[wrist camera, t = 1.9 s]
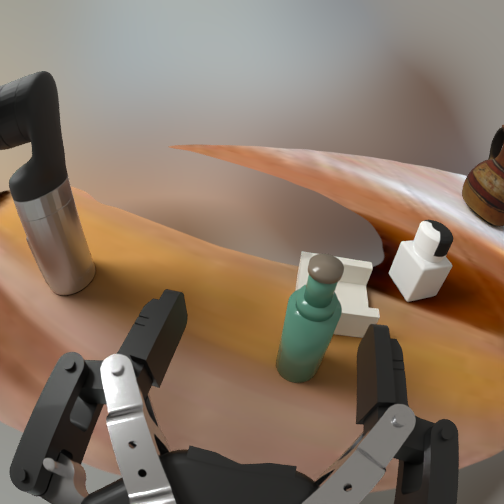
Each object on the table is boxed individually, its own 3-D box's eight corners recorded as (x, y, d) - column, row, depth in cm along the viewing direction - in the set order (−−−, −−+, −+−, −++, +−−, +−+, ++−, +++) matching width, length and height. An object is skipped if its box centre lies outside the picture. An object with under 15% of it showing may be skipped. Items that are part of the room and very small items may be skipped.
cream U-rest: (290, 327, 38) (295, 305, 36) (297, 273, 47) (301, 251, 44) (368, 338, 37) (379, 317, 34) (363, 283, 46) (371, 262, 43)
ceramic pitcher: (470, 223, 65) (503, 124, 46) (449, 191, 80) (473, 108, 61) (515, 237, 61) (549, 150, 43) (491, 205, 77) (516, 129, 58)
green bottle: (272, 379, 32) (293, 282, 22) (279, 344, 36) (298, 242, 26) (316, 385, 32) (358, 291, 22) (319, 350, 36) (354, 251, 26)
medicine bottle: (416, 269, 49) (440, 214, 41) (436, 296, 43) (465, 240, 36) (387, 273, 48) (409, 214, 40) (406, 303, 42) (436, 243, 35)
